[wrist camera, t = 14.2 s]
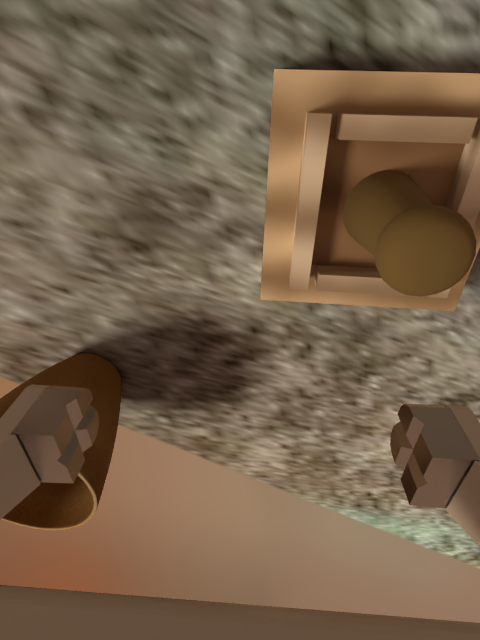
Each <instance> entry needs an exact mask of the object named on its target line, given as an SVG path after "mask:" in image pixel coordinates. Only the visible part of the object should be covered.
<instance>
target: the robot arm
mask: <svg viewBox="0 0 480 640" xmlns="http://www.w3.org/2000/svg"><path fill="white" fill-rule="evenodd" d="M92 400H93V396H92V394H91V391H90V389H87V388H78V387H65V386H52V385H50V386H47V385H34V384H32V385H30V386H28V387H26V388H25V389H24V390H23V392H22V393H21V394H20V395H19V396H18V398H17V399H16V400H15V401H14V402H13V404H12V405H11V406H10V407H9V409H8V410H7V411H6V412H5V413H4V415H3V416H2V417H1V418H0V519H2V518H3V517H4V516H5V515H6V514H7V513H8V512H10V511H11V510H12V509H13V508H14V507H15V506H16V505H18V504H19V503H20V502H21V501H22V500H23V499H24V498H25V497H27V496H28V495H29V494H30V493H31V492H32V491H33V490H35V489H36V488H37V487H38V486H39V485H40V482H47V483H74V481H75V479H76V477H77V475H78V473H79V471H80V469H81V467H82V465H83V463H84V461H85V458H84V454H83V452H84V451H85V450H87V449H88V448H89V447H91V446H92V445H93V443H94V441H95V439H96V436H97V432H98V428H99V416H98V412H97V410H96V409H95V408H94V407H92V406H91V405H90V403H91V402H92ZM398 416H399V419H400V422H399V423H397V424H396V425H394V426H393V429H392V433H391V443H390V446H391V451H392V456H393V459H394V462H395V464H396V465H398V466H399V467H400V468H401V469H402V470H403V471H404V472H403V474H402V477H401V482H402V485H403V488H404V491H405V493H406V496H407V499H408V502H409V505H416V506H427V507H438V508H447V509H446V511H447V512H448V513H449V514H450V515H451V516H452V517H453V519H454V520H455V521H456V522H457V523H458V524H459V525H460V526H461V527H462V528H463V529H464V530H465V532H466V533H467V534H468V535H469V536H470V537H471V538H472V539H473V540H474V541H475V542H476V544H477V545H478V546H479V547H480V423H479V421H478V420H477V418H476V417H475V415H474V414H473V412H472V411H471V409H469V408H468V407H467V406H447V405H445V406H443V405H422V404H403V405H402V406H401V407H400V410H399V412H398ZM0 640H480V623H472V622H461V621H448V620H435V619H422V618H411V617H398V616H385V615H372V614H359V613H347V612H335V611H323V610H309V609H297V608H283V607H272V606H259V605H247V604H235V603H222V602H209V601H197V600H184V599H171V598H159V597H146V596H134V595H121V594H109V593H96V592H82V591H70V590H57V589H45V588H33V587H20V586H7V585H0Z"/></svg>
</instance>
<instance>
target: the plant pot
mask: <svg viewBox="0 0 480 640" xmlns="http://www.w3.org/2000/svg"><path fill="white" fill-rule="evenodd" d="M32 384H34V385H47V386H50V385H52V386H65V387H78V388H87V389H90V391H91V394H92V396H93V400H92V402H91V403H90V405H91V406H92V407H94V408H95V409H96V410H97V412H98V416H99V428H98V432H97V436H96V439H95V441H94V443H93V445H92V446H91V447H89V448H88V449H87V450H85V451H84V452H83V454H84V458H85V461H84V463H83V465H82V467H81V469H80V471H79V473H78V475H77V477H76V479H75V481H74V483H47V482H40V485H39V486H38V487H37V488H36V489H35V490H33V491H32V492H31V493H30V494H29V495H28V496H27V497H25V498H24V499H23V500H22V501H21V502H20V503H19V504H18V505H16V506H15V507H14V508H13V509H12V510H11V511H10V512H8V513H7V514H6V515H5V516H4V517H3V518H2V520H5V521H8V522H11V523H14V524H18V525H21V526H25V527H30V528H35V529H43V530H63V529H69V528H75V527H78V526H81V525H83V524H85V523H86V522H88V521H89V520H90V519H91V518H92V517H93V516H94V514H95V512H96V510H97V507H98V503H99V500H100V497H101V494H102V490H103V487H104V483H105V480H106V476H107V473H108V469H109V465H110V461H111V457H112V452H113V448H114V443H115V438H116V433H117V426H118V420H119V412H120V402H121V377H120V374H119V372H118V370H117V369H116V368H115V367H114V366H113V365H112V364H111V363H110V362H109V361H108V360H106V359H104V358H102V357H100V356H98V355H94V354H87V353H82V354H77V355H74V356H72V357H70V358H68V359H65V360H63V361H61V362H59V363H57V364H55V365H53V366H52V367H50V368H48V369H46V370H44V371H42V372H41V373H39V374H37V375H36V376H34V377H32V378H31V379H29V380H27V381H26V382H24V383H23V384H21V385H20V386H18V387H16V388H15V389H14V390H12V391H11V392H9V393H8V394H6V395H5V396H3V397H2V398H1V399H0V418H1V417H2V416H3V415H4V413H5V412H6V411H7V410H8V409H9V407H10V406H11V405H12V404H13V402H14V401H15V400H16V399H17V398H18V396H19V395H20V394H21V393H22V392H23V390H24V389H25V388H26V387H28V386H30V385H32Z"/></svg>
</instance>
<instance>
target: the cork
mask: <svg viewBox="0 0 480 640" xmlns="http://www.w3.org/2000/svg"><path fill="white" fill-rule="evenodd" d="M343 220H344V226H345V228H346V230H347V232H348V234H349V235H350V236H351V237H352V238H353V239H354V240H355V241H356V242H358V243H359V244H360V245H361V246H363V247H364V248H365V249H366V250H368V251H369V252H370V253H371V254H372V255H374V256H375V265H376V267H377V269H378V272H379V274H380V276H381V278H382V279H383V281H384V282H386V283H387V284H388V285H389V286H390V287H391V288H392V289H394V290H396V291H398V292H400V293H403V294H405V295H409V296H419V297H421V296H428V295H433V294H438V293H440V292H442V291H445V290H447V289H449V288H451V287H452V286H453V285H455V284H456V283H457V282H459V281H460V280H461V279H462V278H463V277H464V275H465V274H466V273H467V272H468V271H469V269H470V267H471V264H472V262H473V260H474V257H475V255H476V243H477V241H476V238H475V235H474V231H473V229H472V227H471V225H470V223H469V222H468V221H467V220H466V219H465V218H464V217H463V216H462V215H461V214H460V213H458V212H456V211H454V210H451V209H449V208H447V207H445V206H438V205H433V204H432V203H431V201H430V200H429V199H428V197H427V196H426V195H425V194H424V192H423V191H422V190H421V188H420V187H419V186H418V185H417V183H416V182H415V181H414V180H413V179H412V178H411V177H410V176H409V175H406V174H404V173H402V172H400V171H393V170H384V171H380V172H376V173H372V174H371V175H369V176H367V177H365V178H364V179H362V180H361V181H360V182H359V183H358V184H357V185H356V186H355V187H354V188H353V189H352V190H351V192H350V194H349V195H348V197H347V199H346V201H345V205H344V210H343Z"/></svg>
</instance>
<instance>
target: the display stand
mask: <svg viewBox="0 0 480 640" xmlns="http://www.w3.org/2000/svg"><path fill="white" fill-rule="evenodd" d="M384 170H393V171H400V172H402V173H404V174H406V175H409V176H410V177H411V178H412V179H413V180H414V181H415V182H416V183H417V185H418V186H419V187H420V188H421V190H422V191H423V192H424V194H425V195H426V196H427V197H428V199H429V200H430V201H431V203H432V204H433V205H438V206H445V207H447V208H449V209H451V210H454V211H456V212H458V213H460V214H461V215H462V216H463V217H464V218H465V219H466V220H467V221H468V222H469V223H470V225H471V227H472V229H473V231H474V235H475V238H476V241H477V243H476V255H475V257H474V260H473V262H472V264H471V267H470V269H469V271H468V272H467V273H466V274H465V275H464V277H463V278H462V279H461V280H460V281H459V282H457V283H456V284H455V285H453V286H452V287H451V288H449V289H447V290H445V291H442V292H440V293H438V294H433V295H428V296H421V297H419V296H409V295H405V294H403V293H400V292H398V291H396V290H394V289H392V288H391V287H390V286H389V285H388V284H387V283H386V282H384V281H383V279H382V278H381V276H380V274H379V272H378V269H377V267H376V265H375V256H374V255H372V254H371V253H370V252H369V251H368V250H366V249H365V248H364V247H363V246H361V245H360V244H359V243H358V242H356V241H355V240H354V239H353V238H352V237H351V236H350V235H349V234H348V232H347V230H346V228H345V226H344V220H343V210H344V205H345V201H346V199H347V197H348V195H349V194H350V192H351V190H352V189H353V188H354V187H355V186H356V185H357V184H358V183H359V182H360V181H361V180H362V179H364V178H365V177H367V176H369V175H371V174H372V173H376V172H380V171H384ZM479 248H480V73H434V72H386V71H337V70H289V69H274V79H273V96H272V113H271V130H270V146H269V163H268V180H267V196H266V213H265V230H264V247H263V263H262V280H261V297H260V300H277V301H294V302H311V303H328V304H345V305H361V306H378V307H395V308H412V309H429V310H446V311H455V309H456V306H457V304H458V301H459V299H460V296H461V294H462V291H463V289H464V286H465V283H466V281H467V278H468V276H469V273H470V271H471V268H472V266H473V263H474V261H475V258H476V256H477V253H478V251H479Z"/></svg>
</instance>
